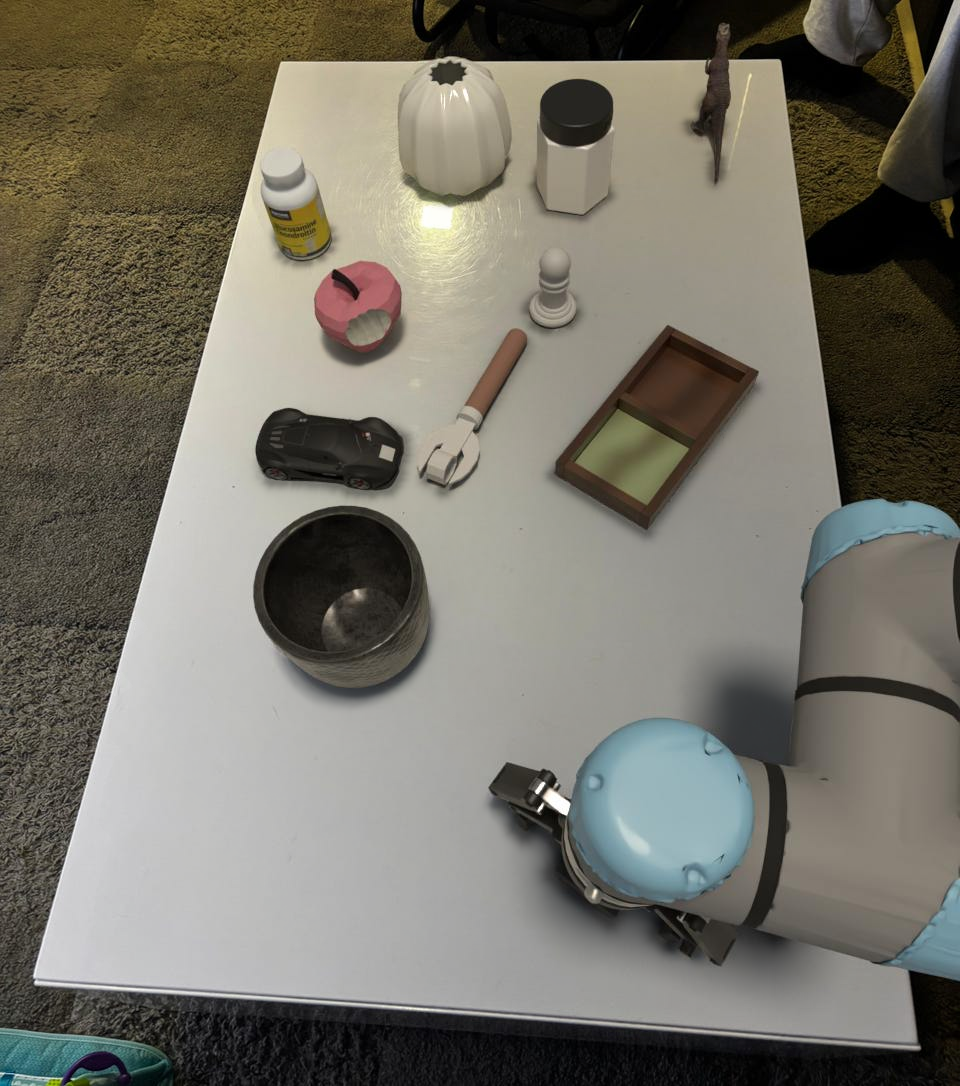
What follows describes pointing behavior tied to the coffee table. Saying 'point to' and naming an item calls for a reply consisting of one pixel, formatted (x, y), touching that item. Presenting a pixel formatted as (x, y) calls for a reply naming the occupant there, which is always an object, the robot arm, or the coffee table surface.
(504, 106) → the vase
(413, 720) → the coffee table surface
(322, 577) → the planter
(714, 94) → the dinosaur model
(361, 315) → the apple
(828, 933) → the robot arm
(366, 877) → the coffee table surface
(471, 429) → the pizza cutter
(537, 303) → the chess piece
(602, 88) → the jar
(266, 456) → the toy car
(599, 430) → the frame
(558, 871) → the black cube
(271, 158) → the pill bottle
